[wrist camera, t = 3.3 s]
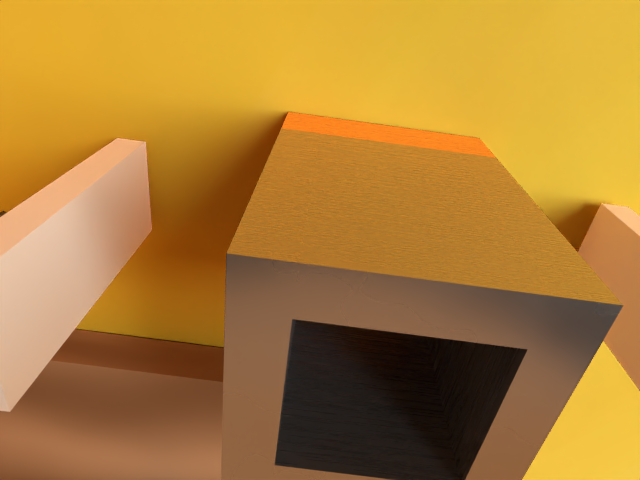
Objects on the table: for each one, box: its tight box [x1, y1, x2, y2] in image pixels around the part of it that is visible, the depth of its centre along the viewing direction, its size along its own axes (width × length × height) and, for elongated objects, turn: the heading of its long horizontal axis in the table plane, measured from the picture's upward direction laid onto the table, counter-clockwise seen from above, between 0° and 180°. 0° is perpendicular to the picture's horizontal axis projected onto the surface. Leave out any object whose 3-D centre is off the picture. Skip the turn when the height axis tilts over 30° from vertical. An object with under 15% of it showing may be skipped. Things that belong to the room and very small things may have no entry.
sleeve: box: [221, 112, 624, 480], centre depth 10 cm, size 5×5×7 cm
